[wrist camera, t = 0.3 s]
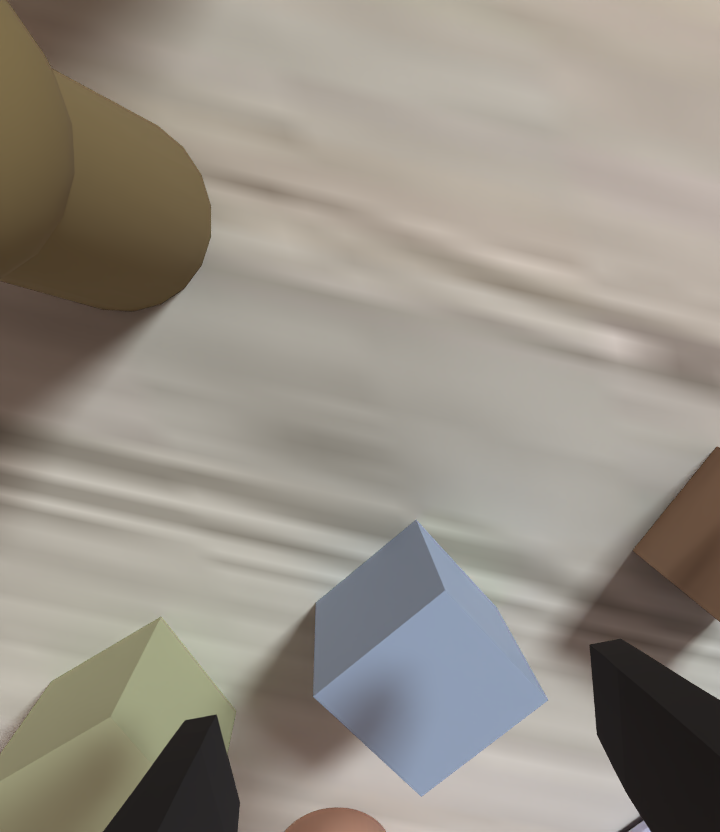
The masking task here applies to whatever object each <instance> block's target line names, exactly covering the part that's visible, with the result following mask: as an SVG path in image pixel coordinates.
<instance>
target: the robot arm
mask: <svg viewBox="0 0 720 832" xmlns="http://www.w3.org/2000/svg"><path fill="white" fill-rule="evenodd" d="M590 655H591V667H592V680H593V692H594V704H595V717H596V729H597V736H598V738H599V740H600V742H601V744H602V746H603V748H604V750H605V752H606V754H607V756H608V758H609V760H610V762H611V764H612V766H613V768H614V770H615V772H616V774H617V776H618V778H619V780H620V782H621V783H622V785H623V787H624V789H625V791H626V793H627V795H628V796H629V798H630V799H631V801H632V803H633V804H634V806H635V807H636V809H637V811H638V812H639V814H640V815H641V817H642V818H643V821H642V822H641V823H639V824H638V825H636V826H635V827H634V828H632V829H631V830H629V831H628V832H720V700H719V699H717V698H715V697H714V696H712V695H710V694H709V693H707V692H705V691H704V690H702V689H701V688H699V687H697V686H696V685H694V684H692V683H691V682H689V681H688V680H686V679H684V678H683V677H681V676H680V675H678V674H676V673H675V672H673V671H672V670H670V669H669V668H667V667H665V666H664V665H662V664H661V663H659V662H657V661H656V660H654V659H653V658H651V657H650V656H648V655H646V654H645V653H643V652H642V651H640V650H638V649H637V648H635V647H634V646H632V645H630V644H629V643H627V642H625V641H624V640H622V639H617V640H612V641H607V642H601V643H596V644H591V645H590ZM239 807H240V801H239V797H238V793H237V790H236V786H235V782H234V778H233V774H232V771H231V767H230V763H229V759H228V755H227V752H226V748H225V744H224V740H223V736H222V733H221V729H220V725H219V721H218V717H217V714H216V715H210V716H205V717H200V718H194V719H189V720H185V721H184V722H183V723H182V725H181V726H180V727H179V729H178V730H177V731H176V733H175V734H174V735H173V737H172V738H171V739H170V741H169V742H168V744H167V745H166V746H165V748H164V749H163V750H162V752H161V753H160V755H159V756H158V757H157V759H156V760H155V762H154V763H153V764H152V766H151V767H150V769H149V770H148V771H147V773H146V774H145V775H144V777H143V778H142V780H141V781H140V782H139V784H138V785H137V786H136V788H135V789H134V791H133V792H132V793H131V795H130V796H129V797H128V799H127V800H126V801H125V803H124V804H123V805H122V807H121V808H120V809H119V811H118V812H117V813H116V815H115V816H114V817H113V819H112V820H111V821H110V823H109V824H108V825H107V827H106V828H105V829H104V831H103V832H237V831H238V819H239Z"/></svg>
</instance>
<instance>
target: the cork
mask: <svg viewBox="0 0 720 832" xmlns="http://www.w3.org/2000/svg"><path fill="white" fill-rule="evenodd" d="M210 238H211V205H210V201H209V198H208V195H207V192H206V188H205V185H204V182H203V178H202V175H201V173H200V172H199V170H198V169H197V167H196V166H195V164H194V163H193V161H192V160H191V158H190V157H189V155H188V154H187V152H186V151H185V149H184V148H183V147H182V146H181V145H180V144H179V143H178V142H176V141H175V140H174V139H173V138H172V137H171V136H169V135H168V134H167V133H166V132H165V131H163V130H162V129H161V128H160V127H159V126H157V125H156V124H154V123H152V122H150V121H148V120H146V119H144V118H143V117H141V116H139V115H137V114H135V113H133V112H131V111H130V110H128V109H126V108H124V107H122V106H120V105H118V104H117V103H115V102H113V101H111V100H109V99H107V98H105V97H104V96H102V95H100V94H98V93H96V92H94V91H92V90H91V89H89V88H87V87H85V86H83V85H81V84H79V83H78V82H76V81H74V80H72V79H70V78H68V77H66V76H65V75H63V74H61V73H59V72H57V71H55V70H54V69H52V68H51V66H50V64H49V63H48V61H47V59H46V57H45V55H44V53H43V52H42V50H41V49H40V48H39V46H38V45H37V43H36V42H35V40H34V39H33V37H32V36H31V35H30V33H29V32H28V30H27V29H26V27H25V26H24V24H23V23H22V22H21V20H20V19H19V17H18V16H17V14H16V13H15V11H14V10H13V9H12V7H11V6H10V4H9V3H8V2H7V1H6V0H0V281H2V282H6V283H9V284H13V285H17V286H20V287H24V288H27V289H31V290H35V291H38V292H42V293H45V294H49V295H53V296H56V297H60V298H63V299H67V300H71V301H74V302H78V303H81V304H85V305H89V306H92V307H96V308H99V309H103V310H119V311H136V310H140V309H144V308H148V307H151V306H155V305H159V304H162V303H163V302H165V301H166V300H168V299H169V298H171V297H172V296H174V295H175V294H176V293H178V292H179V291H181V290H182V289H184V288H185V287H186V285H187V284H188V283H189V281H190V280H191V279H192V277H193V276H194V275H195V273H196V272H197V271H198V269H199V268H200V267H201V265H202V263H203V260H204V256H205V253H206V250H207V247H208V244H209V241H210Z"/></svg>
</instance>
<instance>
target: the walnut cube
mask: <svg viewBox="0 0 720 832" xmlns="http://www.w3.org/2000/svg"><path fill="white" fill-rule="evenodd" d="M633 551H634V552H635V553H636V554H637V555H639V556H640V557H641V558H642V559H644V560H645V561H646V562H647V563H648V564H650V565H651V566H652V567H653V568H655V569H656V570H657V571H658V572H659V573H661V574H662V575H663V576H664V577H666V578H667V579H668V580H669V581H670V582H672V583H673V584H674V585H675V586H677V587H678V588H679V589H680V590H681V591H683V592H684V593H685V594H686V595H688V596H689V597H690V598H691V599H692V600H694V601H695V602H696V603H697V604H699V605H700V606H701V607H702V608H703V609H705V610H706V611H707V612H708V613H710V614H711V615H712V616H713V617H714V618H716V619H717V620H718V621H719V622H720V448H719V447H716V448H715V449H714V451H713V452H712V453H711V454H710V455H709V457H708V458H707V459H706V460H705V462H704V463H703V464H702V465H701V467H700V468H699V469H698V470H697V472H696V473H695V474H694V475H693V476H692V478H691V479H690V480H689V481H688V483H687V484H686V485H685V486H684V488H683V489H682V490H681V491H680V493H679V494H678V495H677V496H676V497H675V499H674V500H673V501H672V502H671V504H670V505H669V506H668V507H667V509H666V510H665V511H664V512H663V514H662V515H661V516H660V517H659V518H658V520H657V521H656V522H655V523H654V525H653V526H652V527H651V528H650V530H649V531H648V532H647V533H646V534H645V536H644V537H643V538H642V539H641V541H640V542H639V543H638V544H637V546H636V547H635V548H634V549H633Z"/></svg>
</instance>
